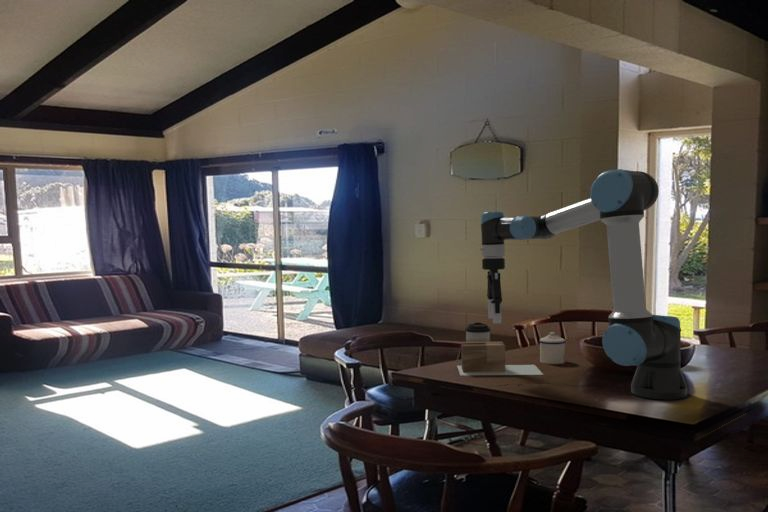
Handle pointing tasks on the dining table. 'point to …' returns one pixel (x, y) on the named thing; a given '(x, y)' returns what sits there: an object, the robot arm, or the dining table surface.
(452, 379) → the dining table surface
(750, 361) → the dining table surface
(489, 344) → the slotted block
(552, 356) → the teacup with lid
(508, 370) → the board
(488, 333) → the coffee cup
